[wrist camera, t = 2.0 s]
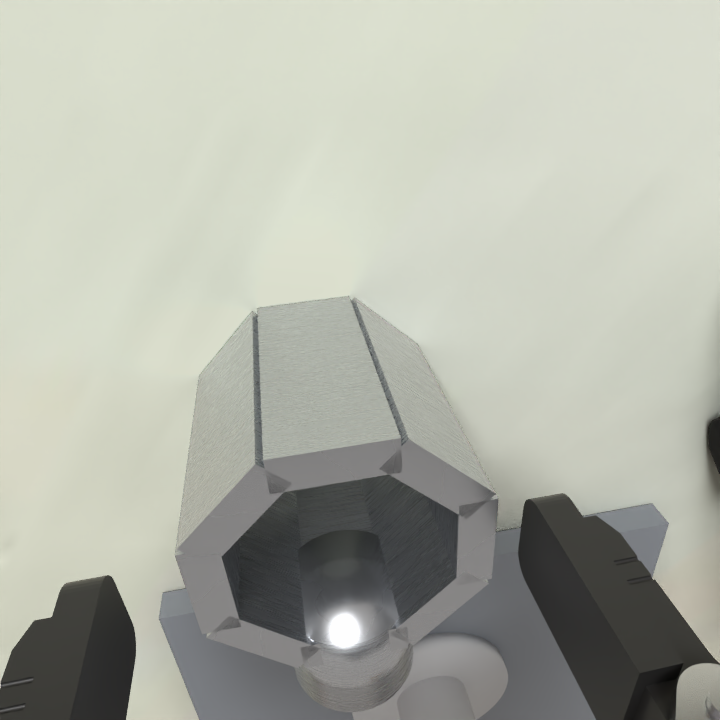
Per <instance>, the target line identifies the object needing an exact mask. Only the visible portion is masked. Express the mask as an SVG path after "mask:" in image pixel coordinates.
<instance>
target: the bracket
mask: <svg viewBox="0 0 720 720" xmlns="http://www.w3.org/2000/svg"><path fill="white" fill-rule="evenodd" d="M709 448H710V451H711V454H712V456H713V459H714V461H715V464H716V467H717V469H718V472H719V473H720V417H718V418H717V419H715V420H713V421H712V423H711V425H710V427H709Z"/></svg>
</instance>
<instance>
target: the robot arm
mask: <svg viewBox="0 0 720 720" xmlns="http://www.w3.org/2000/svg"><path fill="white" fill-rule="evenodd" d="M518 557H519V563H520V568H521V571H522V574H523V577H524V580H525V582H526V584H527V586H528V588H529V590H530V592H531V594H532V595H533V597H534V599H535V601H536V603H537V605H538V607H539V609H540V611H541V613H542V615H543V617H544V619H545V621H546V623H547V625H548V627H549V629H550V631H551V633H552V635H553V636H554V638H555V640H556V642H557V644H558V646H559V648H560V650H561V652H562V654H563V656H564V658H565V660H566V662H567V664H568V666H569V668H570V670H571V672H572V674H573V675H574V677H575V679H576V681H577V683H578V685H579V687H580V689H581V691H582V693H583V695H584V697H585V699H586V701H587V703H588V705H589V707H590V709H591V711H592V713H593V715H594V716H595V718H596V720H720V664H719V663H718V662H717V661H716V660H715V659H714V658H713V656H712V655H711V654H710V653H709V652H708V650H707V649H706V648H705V646H704V645H703V644H702V642H701V641H700V640H699V638H698V637H697V636H696V634H695V633H694V632H693V630H692V629H691V628H690V626H689V625H688V623H687V622H686V621H685V619H684V618H683V617H682V615H681V614H680V613H679V611H678V610H677V609H676V607H675V606H674V605H673V603H672V602H671V601H670V599H669V598H668V597H667V595H666V594H665V593H664V591H663V590H662V589H661V587H660V586H659V585H658V583H657V582H656V580H653V579H652V577H651V574H650V572H649V571H648V570H647V568H646V567H645V566H644V564H643V563H642V562H641V561H639V560H638V558H637V555H636V554H635V552H634V551H633V550H632V548H631V547H630V546H629V544H628V543H627V541H626V540H625V539H624V537H623V536H622V535H621V533H619V532H618V531H617V530H615V529H614V528H613V527H611V526H610V525H609V524H607V523H606V522H604V521H603V520H602V519H600V518H599V517H598V516H596V515H594V516H589V517H583V516H582V515H581V514H580V512H579V511H578V509H577V508H576V506H575V505H574V503H573V502H572V501H571V499H570V498H569V497H568V496H567V495H565V494H563V493H561V494H555V495H550V496H544V497H539V498H533V499H528V500H526V502H525V504H524V509H523V517H522V524H521V532H520V540H519V547H518ZM135 656H136V640H135V632H134V627H133V624H132V621H131V619H130V617H129V614H128V612H127V610H126V607H125V605H124V603H123V600H122V598H121V596H120V593H119V591H118V589H117V587H116V584H115V582H114V580H113V578H112V577H111V576H109V575H107V576H102V577H97V578H91V579H86V580H80V581H75V582H69V583H66V584H65V585H64V586H63V587H62V588H61V590H60V593H59V596H58V599H57V603H56V606H55V609H54V612H53V616H52V617H51V618H46V619H41V620H35V621H34V622H33V623H32V624H31V626H30V627H29V628H28V630H27V631H26V632H25V634H24V635H23V636H22V638H21V639H20V641H19V642H18V643H17V645H16V646H15V647H14V649H13V650H12V652H11V655H10V658H9V660H8V663H7V666H6V669H5V672H4V675H3V677H2V680H1V688H0V720H126V715H127V709H128V702H129V696H130V689H131V683H132V676H133V670H134V664H135Z"/></svg>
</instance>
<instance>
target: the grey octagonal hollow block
mask: <svg viewBox="0 0 720 720" xmlns="http://www.w3.org/2000/svg"><path fill="white" fill-rule="evenodd" d="M257 312H258V315H257V314H256V313H254V312H253V311H252V312H251V313H250V314H249V316H248V317H247V318H246V319H245V320H244V322H243V323H242V324H241V325H240V327H239V328H238V329H237V330H236V331H235V333H234V334H233V335H232V336H231V338H230V339H229V340H228V341H227V342H226V344H225V345H224V346H223V347H222V349H221V350H220V351H219V352H218V353H217V355H216V356H215V357H214V358H213V360H212V361H211V362H210V363H209V364H208V366H207V367H206V368H205V369H204V370H203V372H202V373H201V374H200V375H199V380H198V386H197V393H196V401H195V408H194V416H193V423H192V431H191V438H190V446H189V453H188V461H187V468H186V476H185V483H184V491H183V498H182V506H181V513H180V521H179V528H178V536H177V543H176V551H175V557H176V560H177V563H178V566H179V569H180V572H181V575H182V578H183V581H184V583H185V586H186V589H187V592H188V595H189V598H190V601H191V604H192V607H193V609H194V612H195V615H196V618H197V621H198V624H199V627H200V630H201V633H202V634H206V633H207V637H206V638H208V639H211V640H214V641H217V642H220V643H223V644H226V645H229V646H232V647H235V648H238V649H241V650H245V651H248V652H251V653H254V654H257V655H260V656H263V657H266V658H269V659H272V660H275V661H278V662H281V663H284V664H287V665H290V666H293V667H294V669H295V673H296V676H297V679H298V681H299V683H300V685H301V686H302V688H303V689H304V691H305V692H306V693H307V694H308V695H309V696H310V697H311V698H312V699H313V700H314V701H316V702H317V703H319V704H321V705H322V706H324V707H327V708H329V709H332V710H335V711H340V712H361V711H366V710H369V709H372V708H375V707H377V706H379V705H381V704H383V703H384V702H386V701H388V700H389V699H390V698H391V697H393V696H394V695H395V694H396V693H397V692H398V691H399V689H400V688H401V687H402V685H403V684H404V683H405V681H406V679H407V677H408V675H409V672H410V670H411V666H412V662H413V645H415V644H416V643H417V642H418V641H419V640H421V639H422V638H423V637H424V636H426V635H427V634H428V633H429V632H430V631H432V630H433V629H434V628H435V627H436V626H438V625H439V624H440V623H441V622H443V621H444V620H445V619H446V618H447V617H449V616H450V615H451V614H452V613H453V612H455V611H456V610H457V609H458V608H460V607H461V606H462V605H463V604H464V603H466V602H467V601H468V600H469V599H471V598H472V597H473V596H474V595H475V594H477V593H478V592H479V591H480V590H481V589H483V588H484V587H485V586H486V585H488V584H489V583H488V581H487V580H488V579H492V569H493V558H494V546H495V534H496V523H497V511H498V497H497V495H496V493H495V491H494V489H493V487H492V485H491V483H490V481H489V479H488V477H487V476H486V474H485V472H484V470H483V468H482V466H481V464H480V462H479V460H478V458H477V456H476V455H475V453H474V451H473V449H472V447H471V445H470V443H469V441H468V439H467V437H466V435H465V434H464V432H463V430H462V428H461V426H460V424H459V422H458V420H457V418H456V416H455V415H454V413H453V411H452V409H451V407H450V405H449V403H448V401H447V399H446V397H445V395H444V394H443V392H442V390H441V388H440V386H439V384H438V382H437V380H436V378H435V376H434V374H433V373H432V371H431V369H430V367H429V365H428V363H427V361H426V359H425V357H424V355H423V353H422V352H421V350H420V348H419V346H418V344H416V343H415V342H414V341H412V340H411V339H410V338H408V337H407V336H406V335H404V334H403V333H402V332H400V331H399V330H398V329H396V328H395V327H393V326H392V325H391V324H389V323H388V322H387V321H385V320H384V319H383V318H381V317H380V316H379V315H377V314H376V313H375V312H373V311H372V310H370V309H369V308H368V307H366V306H365V305H364V304H362V303H361V302H360V301H358V300H357V299H356V298H354V299H353V300H352V301H350V298H349V296H348V297H340V298H332V299H325V300H317V301H309V302H302V303H294V304H287V305H279V306H271V307H264V308H257Z"/></svg>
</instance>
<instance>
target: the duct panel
mask: <svg viewBox="0 0 720 720" xmlns="http://www.w3.org/2000/svg"><path fill="white" fill-rule="evenodd" d="M594 515H596V516H598V517H599V518H600V519H602V520H603V521H604V522H606V523H607V524H609V525H610V526H611V527H613V528H614V529H615V530H617V531H618V532H619V533H621V535H622V536H623V537H624V539H625V540H626V541H627V543H628V544H629V546H630V547H631V548H632V550H633V551H634V552H635V554H636V555H637V558H638V560H639V561H641V562H642V563H643V564H644V566H645V567H646V568H647V570H648V571H649V572H650V574H651V577H652V576H653V573H654V570H655V566H656V563H657V560H658V557H659V554H660V550H661V547H662V544H663V541H664V537H665V534H666V531H667V528H668V524H669V523H668V522H667V521H666V519H665V518H664V517H663V516H662V515H661V513H660V512H659V511H658V510H657V509H656V507H655V506H654V505H653V504H647V505H641V506H636V507H630V508H625V509H619V510H614V511H608V512H603V513H598V514H592V515H587V516H583V517H589V516H594ZM520 532H521V528H515V529H510V530H504V531H499V532H496V534H495V546H494V558H493V569H492V579H488V580H487V581H488V583H489V584H488V585H486V586H485V587H484V588H483V589H481V590H480V591H479V592H478V593H477V594H475V595H474V596H473V597H472V598H471V599H469V600H468V601H467V602H466V603H464V604H463V605H462V606H461V607H460V608H458V609H457V610H456V611H455V612H453V613H452V614H451V615H450V616H449V617H447V618H446V619H445V620H444V621H443V622H441V623H440V624H439V625H438V626H436V627H435V628H434V629H433V630H432V631H430V632H429V633H428V634H427V635H426V636H424V637H423V638H422V639H421V640H419V641H418V642H417V643H416V644H415V645H413V662H412V666H411V670H410V672H409V675H408V677H407V679H406V681H405V683H404V684H403V685H402V687H401V688H400V689H399V691H398V692H397V693H396V694H395V695H394V696H393V697H391V698H390V699H389V700H388V701H386V702H384V703H383V704H381V705H379V706H377V707H375V708H372V709H369V710H366V711H361V712H340V711H335V710H332V709H329V708H327V707H324V706H322V705H321V704H319V703H317V702H316V701H314V700H313V699H312V698H311V697H310V696H309V695H308V694H307V693H306V692H305V691H304V689H303V688H302V686H301V685H300V683H299V681H298V679H297V676H296V673H295V669H294V667H293V666H290V665H287V664H284V663H281V662H278V661H275V660H272V659H269V658H266V657H263V656H260V655H257V654H254V653H251V652H248V651H245V650H241V649H238V648H235V647H232V646H229V645H226V644H223V643H220V642H217V641H214V640H211V639H208V638H206V637H207V633H206V634H202V633H201V630H200V627H199V624H198V621H197V618H196V615H195V612H194V609H193V607H192V604H191V601H190V598H189V595H188V592H187V589H181V590H176V591H170V592H165V593H163V594H162V601H161V608H160V615H159V620H160V623H161V625H162V628H163V630H164V633H165V635H166V638H167V640H168V643H169V645H170V648H171V650H172V653H173V655H174V658H175V660H176V663H177V665H178V668H179V670H180V673H181V675H182V678H183V680H184V683H185V685H186V688H187V690H188V693H189V695H190V698H191V700H192V702H193V705H194V707H195V710H196V712H197V715H198V717H199V720H596V718H595V716H594V715H593V713H592V711H591V709H590V707H589V705H588V703H587V701H586V699H585V697H584V695H583V693H582V691H581V689H580V687H579V685H578V683H577V681H576V679H575V677H574V675H573V674H572V672H571V670H570V668H569V666H568V664H567V662H566V660H565V658H564V656H563V654H562V652H561V650H560V648H559V646H558V644H557V642H556V640H555V638H554V636H553V635H552V633H551V631H550V629H549V627H548V625H547V623H546V621H545V619H544V617H543V615H542V613H541V611H540V609H539V607H538V605H537V603H536V601H535V599H534V597H533V595H532V594H531V592H530V590H529V588H528V586H527V584H526V582H525V580H524V577H523V574H522V571H521V568H520V563H519V557H518V547H519V540H520Z"/></svg>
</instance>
